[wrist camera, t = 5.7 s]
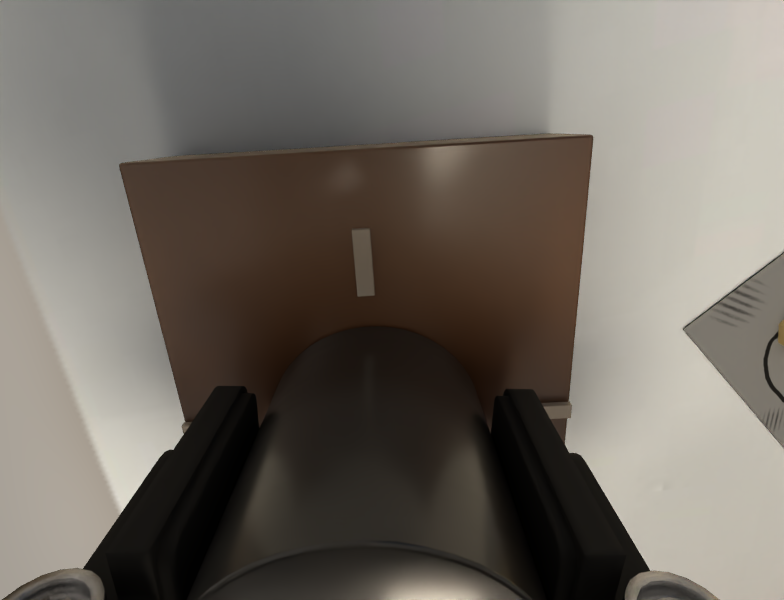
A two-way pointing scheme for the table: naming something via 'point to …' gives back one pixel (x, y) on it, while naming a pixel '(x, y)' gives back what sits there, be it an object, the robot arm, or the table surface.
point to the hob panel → (368, 257)
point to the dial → (371, 485)
